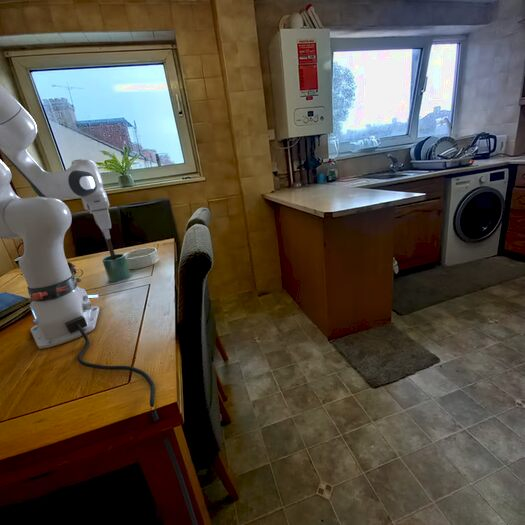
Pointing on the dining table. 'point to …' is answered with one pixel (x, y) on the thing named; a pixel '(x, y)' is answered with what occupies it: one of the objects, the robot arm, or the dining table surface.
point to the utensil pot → (116, 268)
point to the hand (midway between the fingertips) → (107, 237)
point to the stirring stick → (110, 248)
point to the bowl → (141, 257)
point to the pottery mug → (71, 267)
